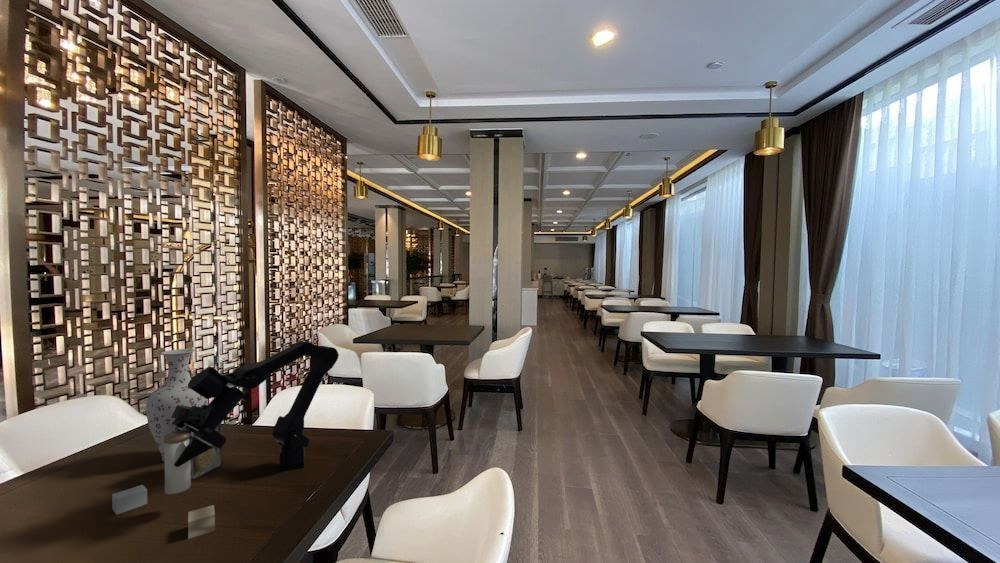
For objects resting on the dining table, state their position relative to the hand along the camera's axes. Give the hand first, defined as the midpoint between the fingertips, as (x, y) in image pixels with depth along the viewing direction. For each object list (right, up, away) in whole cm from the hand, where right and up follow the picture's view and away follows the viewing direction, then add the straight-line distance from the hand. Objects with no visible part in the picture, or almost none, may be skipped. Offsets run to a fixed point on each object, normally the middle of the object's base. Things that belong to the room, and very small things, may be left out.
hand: (171, 463), depth 102 cm
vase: (-24, -12, +32) cm, 42 cm away
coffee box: (-10, -13, +22) cm, 27 cm away
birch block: (+12, -13, -6) cm, 19 cm away
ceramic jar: (+1, -7, +1) cm, 7 cm away
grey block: (-14, -13, +3) cm, 19 cm away
